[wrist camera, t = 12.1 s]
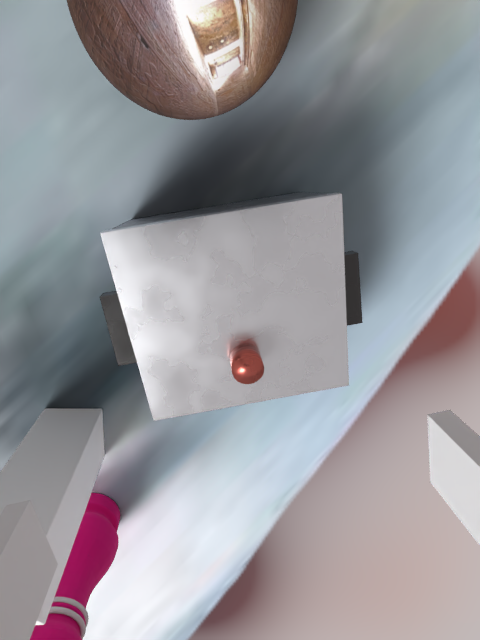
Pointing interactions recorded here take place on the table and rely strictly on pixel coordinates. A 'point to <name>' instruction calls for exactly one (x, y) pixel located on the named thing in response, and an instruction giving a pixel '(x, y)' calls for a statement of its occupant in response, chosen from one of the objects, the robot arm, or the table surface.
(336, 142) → the table surface
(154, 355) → the lid
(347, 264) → the gray box
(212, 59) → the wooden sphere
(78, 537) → the pepper mill
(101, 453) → the milk
